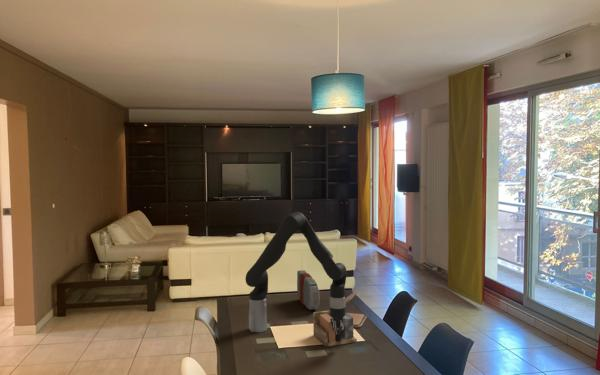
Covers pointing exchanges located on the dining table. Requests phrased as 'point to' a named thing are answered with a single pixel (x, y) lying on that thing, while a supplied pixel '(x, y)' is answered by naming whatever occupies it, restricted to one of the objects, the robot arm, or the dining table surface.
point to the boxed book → (327, 327)
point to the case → (357, 318)
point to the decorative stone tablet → (307, 290)
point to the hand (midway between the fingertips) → (337, 341)
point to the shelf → (322, 335)
